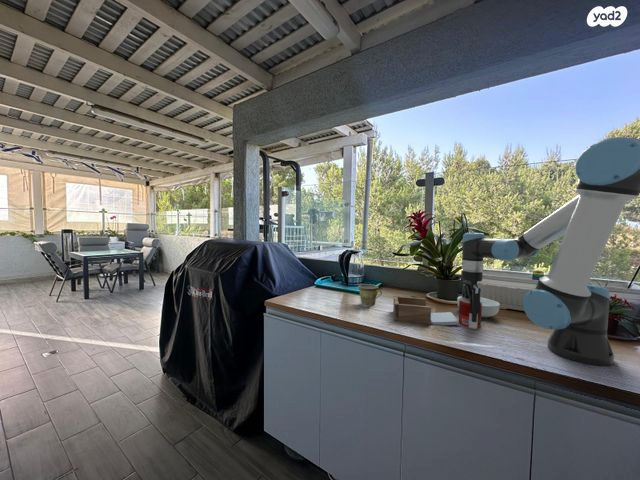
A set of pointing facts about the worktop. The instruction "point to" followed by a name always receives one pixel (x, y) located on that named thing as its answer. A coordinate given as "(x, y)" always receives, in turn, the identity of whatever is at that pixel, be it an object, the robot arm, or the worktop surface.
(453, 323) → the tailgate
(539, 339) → the worktop surface
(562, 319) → the robot arm
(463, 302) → the canned food
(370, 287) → the ceramic cup
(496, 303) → the cereal bowl
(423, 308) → the crate
